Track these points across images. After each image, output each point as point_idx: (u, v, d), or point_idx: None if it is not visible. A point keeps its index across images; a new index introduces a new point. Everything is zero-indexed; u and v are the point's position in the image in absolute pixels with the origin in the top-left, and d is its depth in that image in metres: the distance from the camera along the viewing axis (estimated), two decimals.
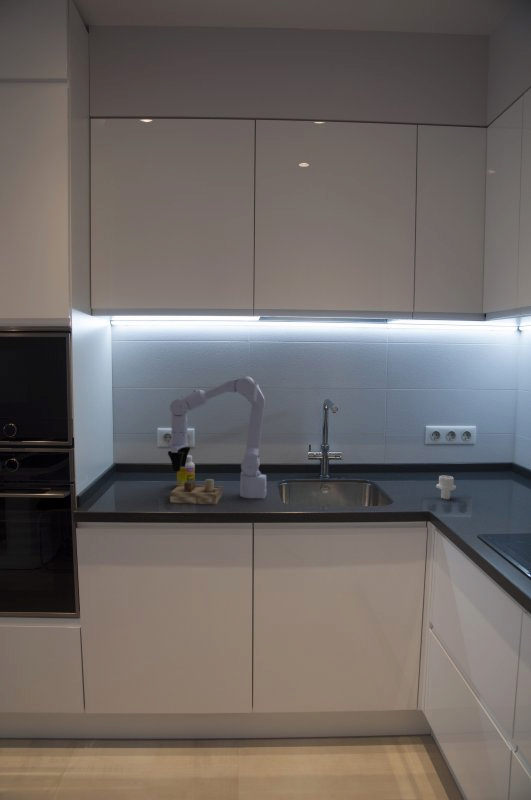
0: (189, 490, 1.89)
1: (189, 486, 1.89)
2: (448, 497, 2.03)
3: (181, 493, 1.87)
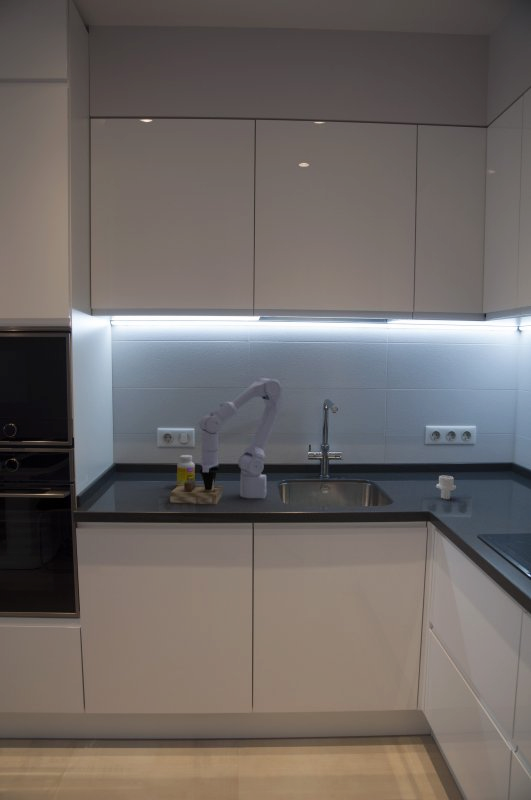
0: (189, 490, 1.89)
1: (189, 486, 1.89)
2: (448, 497, 2.03)
3: (181, 493, 1.87)
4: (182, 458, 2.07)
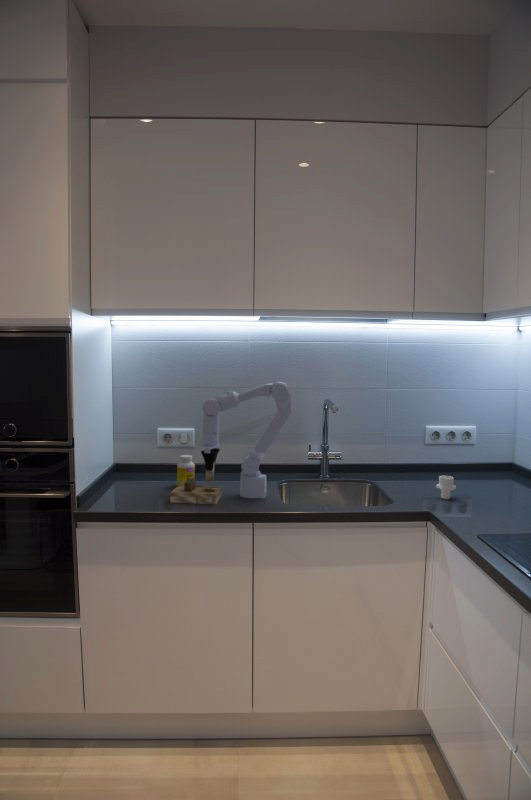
0: (189, 490, 1.89)
1: (189, 486, 1.89)
2: (448, 497, 2.03)
3: (181, 493, 1.87)
4: (182, 458, 2.07)
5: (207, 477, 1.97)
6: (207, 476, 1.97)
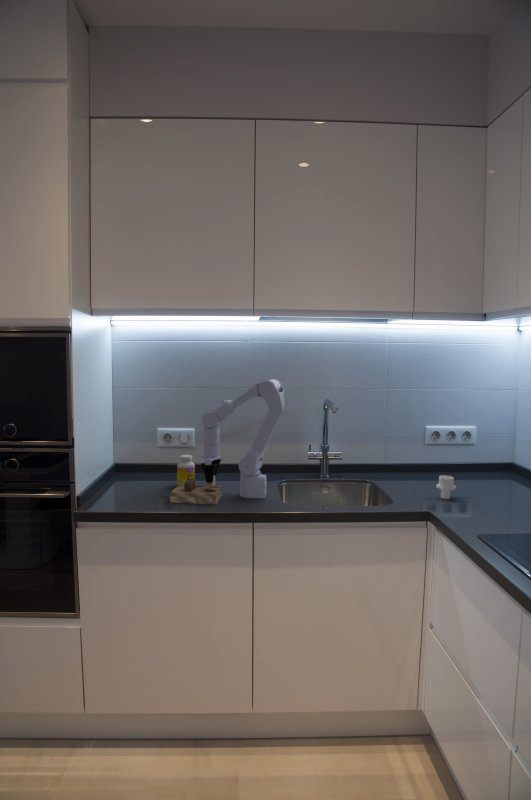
0: (189, 490, 1.89)
1: (189, 486, 1.89)
2: (448, 497, 2.03)
3: (181, 493, 1.87)
4: (182, 458, 2.07)
5: None
6: None
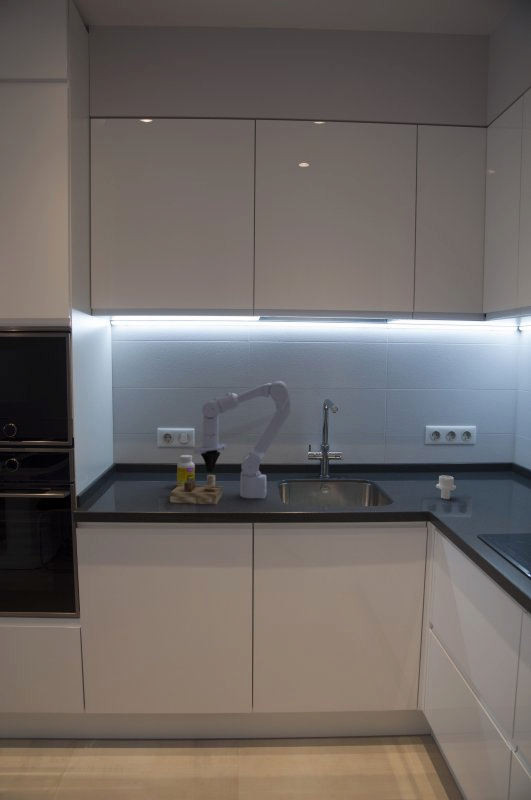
0: (189, 490, 1.89)
1: (189, 486, 1.89)
2: (448, 497, 2.03)
3: (181, 493, 1.87)
4: (182, 458, 2.07)
5: None
6: None
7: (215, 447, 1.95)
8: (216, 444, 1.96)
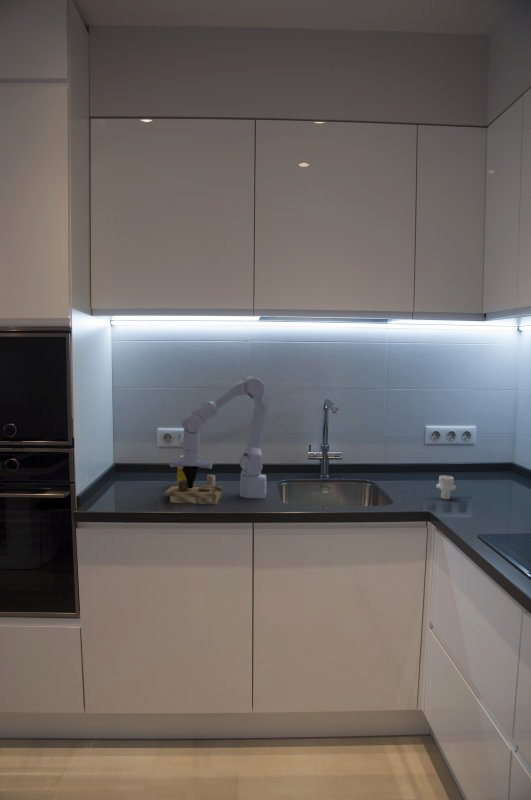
0: (183, 490, 1.89)
1: (183, 486, 1.89)
2: (448, 497, 2.03)
3: (181, 493, 1.87)
4: (182, 458, 2.07)
5: None
6: None
7: (188, 463, 1.88)
8: (189, 460, 1.88)
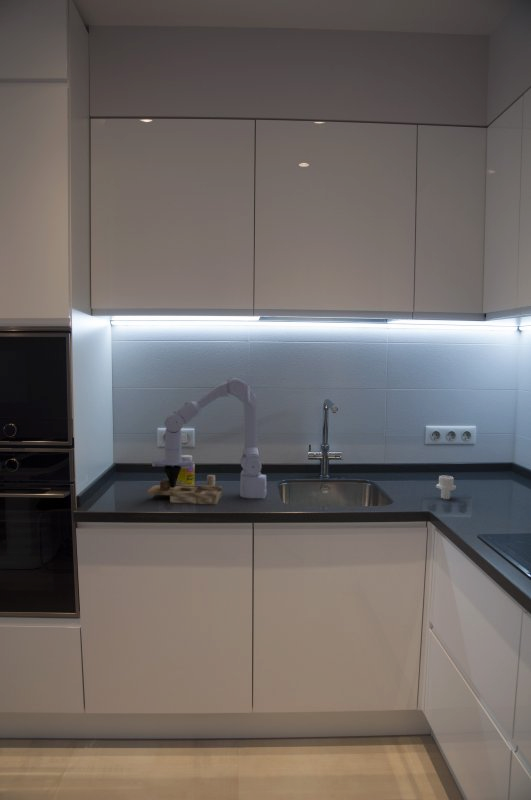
0: (165, 489, 1.90)
1: (165, 485, 1.90)
2: (448, 497, 2.03)
3: (181, 493, 1.87)
4: (182, 458, 2.07)
5: None
6: None
7: (169, 462, 1.89)
8: (171, 459, 1.89)
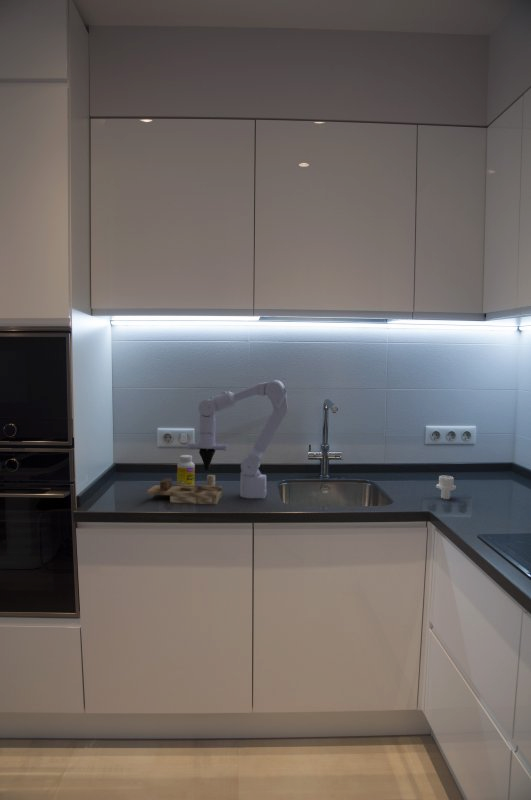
0: (165, 489, 1.90)
1: (165, 485, 1.90)
2: (448, 497, 2.03)
3: (181, 493, 1.87)
4: (182, 458, 2.07)
5: None
6: None
7: (204, 445, 1.96)
8: (206, 442, 1.96)
